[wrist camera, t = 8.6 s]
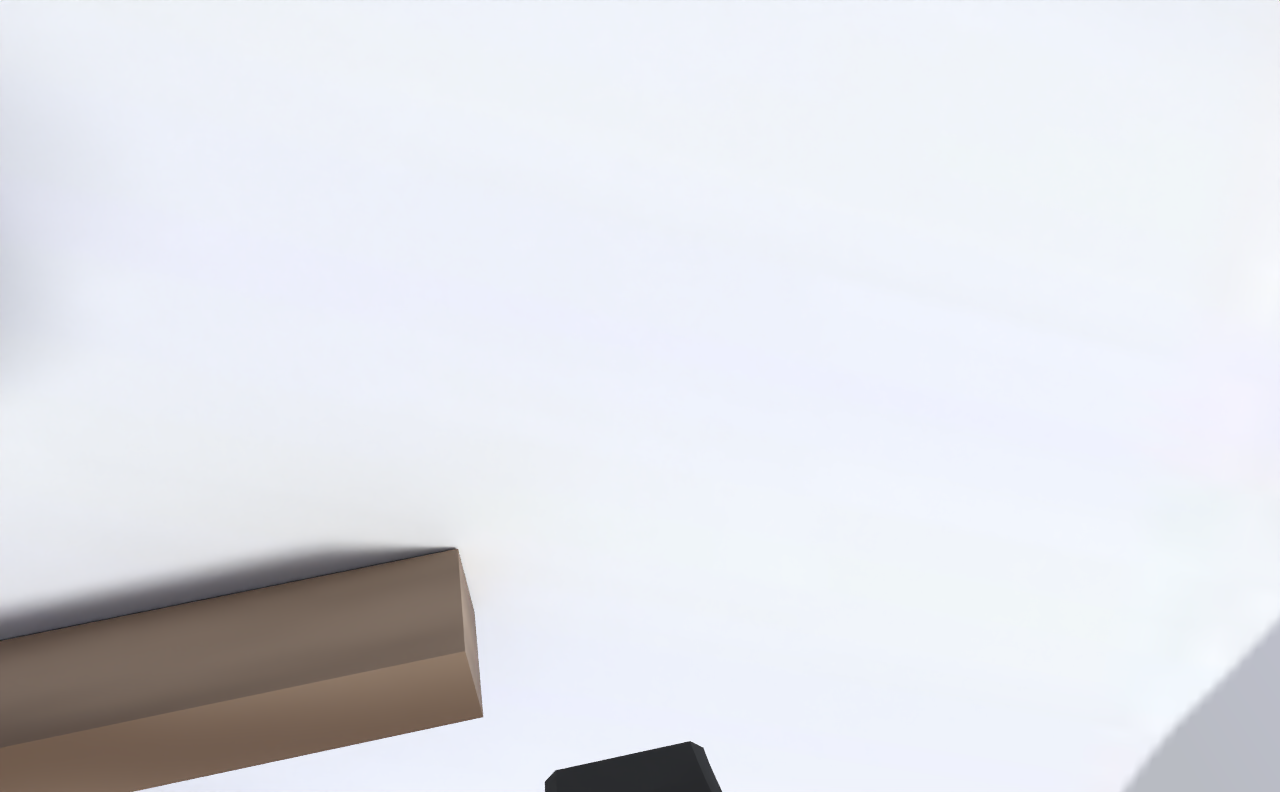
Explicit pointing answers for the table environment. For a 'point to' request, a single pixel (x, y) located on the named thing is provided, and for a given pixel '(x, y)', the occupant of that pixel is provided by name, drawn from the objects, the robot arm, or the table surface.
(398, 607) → the wooden serving tray
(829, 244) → the table surface
